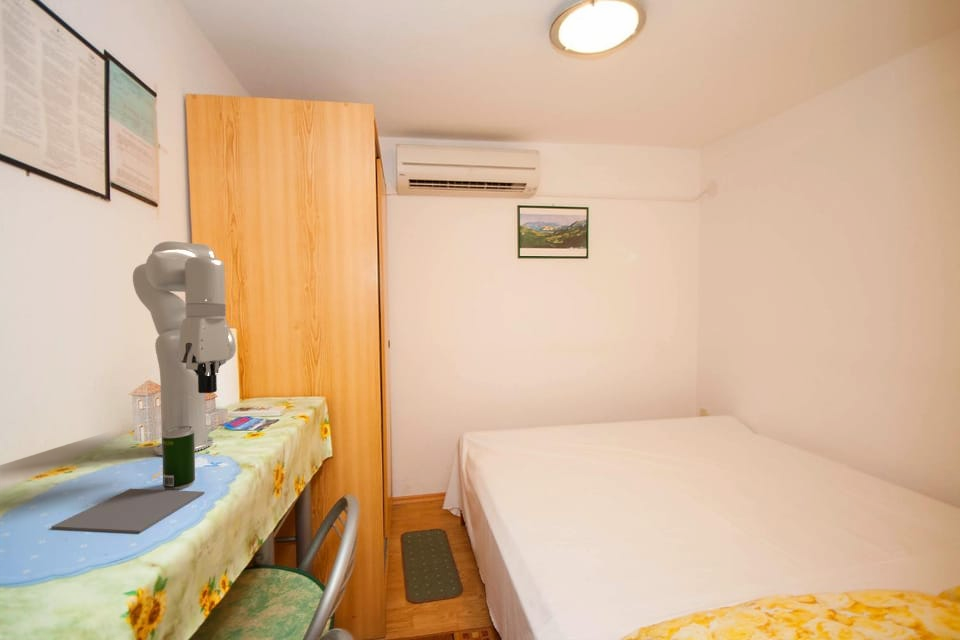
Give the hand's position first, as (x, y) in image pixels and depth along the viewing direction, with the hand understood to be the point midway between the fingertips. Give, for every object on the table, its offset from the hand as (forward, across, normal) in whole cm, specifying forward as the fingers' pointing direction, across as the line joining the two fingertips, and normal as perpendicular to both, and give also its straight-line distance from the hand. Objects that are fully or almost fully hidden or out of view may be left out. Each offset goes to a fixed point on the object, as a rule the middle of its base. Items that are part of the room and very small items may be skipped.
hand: (207, 392), depth 90 cm
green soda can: (+18, +8, -1) cm, 20 cm away
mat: (+18, +18, -1) cm, 25 cm away
